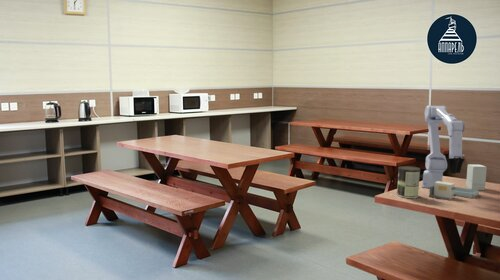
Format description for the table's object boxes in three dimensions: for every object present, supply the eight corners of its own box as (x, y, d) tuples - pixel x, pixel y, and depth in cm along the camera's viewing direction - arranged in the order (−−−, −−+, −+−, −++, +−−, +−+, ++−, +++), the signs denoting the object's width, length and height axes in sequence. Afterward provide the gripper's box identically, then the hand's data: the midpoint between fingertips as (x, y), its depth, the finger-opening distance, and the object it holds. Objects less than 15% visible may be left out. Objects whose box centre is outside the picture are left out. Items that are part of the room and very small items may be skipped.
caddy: (433, 196, 245) (434, 182, 244) (436, 194, 249) (437, 180, 248) (452, 199, 239) (453, 185, 238) (455, 197, 243) (456, 183, 242)
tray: (445, 193, 251) (445, 189, 250) (451, 190, 258) (452, 186, 258) (473, 198, 242) (473, 193, 242) (478, 194, 250) (478, 190, 250)
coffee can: (393, 196, 243) (395, 168, 242) (400, 192, 252) (402, 165, 250) (414, 199, 238) (416, 170, 236) (421, 195, 246) (423, 167, 244)
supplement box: (485, 190, 260) (487, 166, 259) (471, 189, 261) (473, 166, 259) (479, 187, 268) (481, 164, 266) (465, 186, 268) (467, 163, 266)
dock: (429, 196, 243) (429, 186, 243) (436, 192, 252) (437, 183, 251) (449, 200, 237) (450, 190, 237) (456, 196, 246) (457, 186, 245)
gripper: (460, 145, 232) (459, 173, 232) (468, 145, 244) (468, 173, 243) (444, 145, 236) (444, 173, 236) (453, 145, 248) (453, 172, 248)
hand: (455, 173), depth 240 cm, fingers open, 7 cm apart
